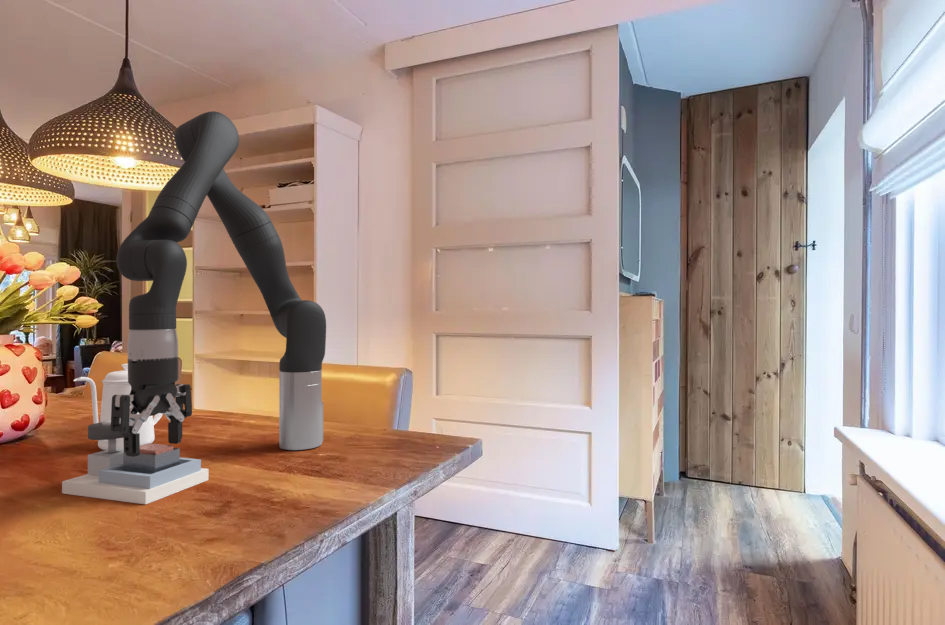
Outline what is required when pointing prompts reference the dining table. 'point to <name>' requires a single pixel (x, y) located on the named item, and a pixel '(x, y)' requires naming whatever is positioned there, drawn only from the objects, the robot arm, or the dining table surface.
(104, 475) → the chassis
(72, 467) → the dining table surface
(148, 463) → the copper topped block
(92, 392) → the coffeepot
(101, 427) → the wheel
